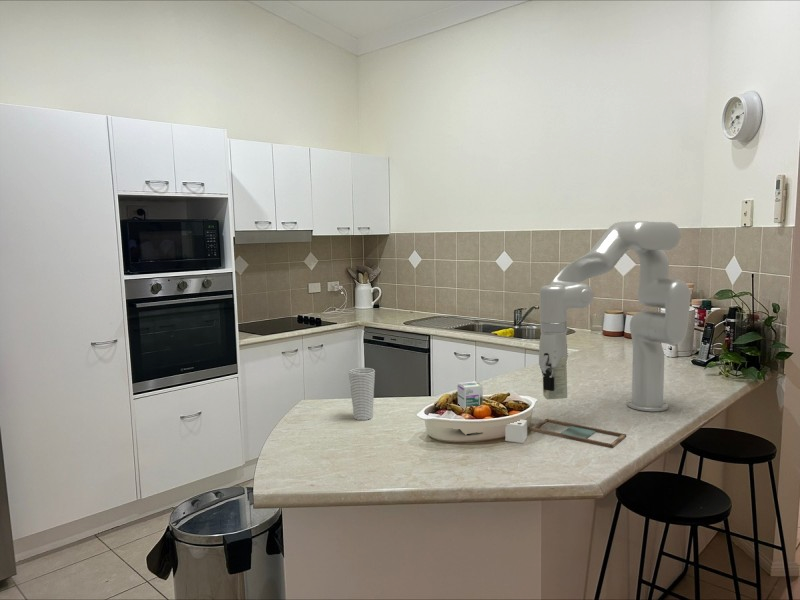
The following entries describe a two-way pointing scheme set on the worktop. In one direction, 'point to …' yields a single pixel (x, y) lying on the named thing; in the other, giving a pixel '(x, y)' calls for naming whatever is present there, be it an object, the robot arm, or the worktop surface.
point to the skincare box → (558, 382)
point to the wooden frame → (579, 433)
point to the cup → (362, 392)
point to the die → (516, 431)
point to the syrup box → (470, 394)
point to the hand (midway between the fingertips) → (554, 386)
